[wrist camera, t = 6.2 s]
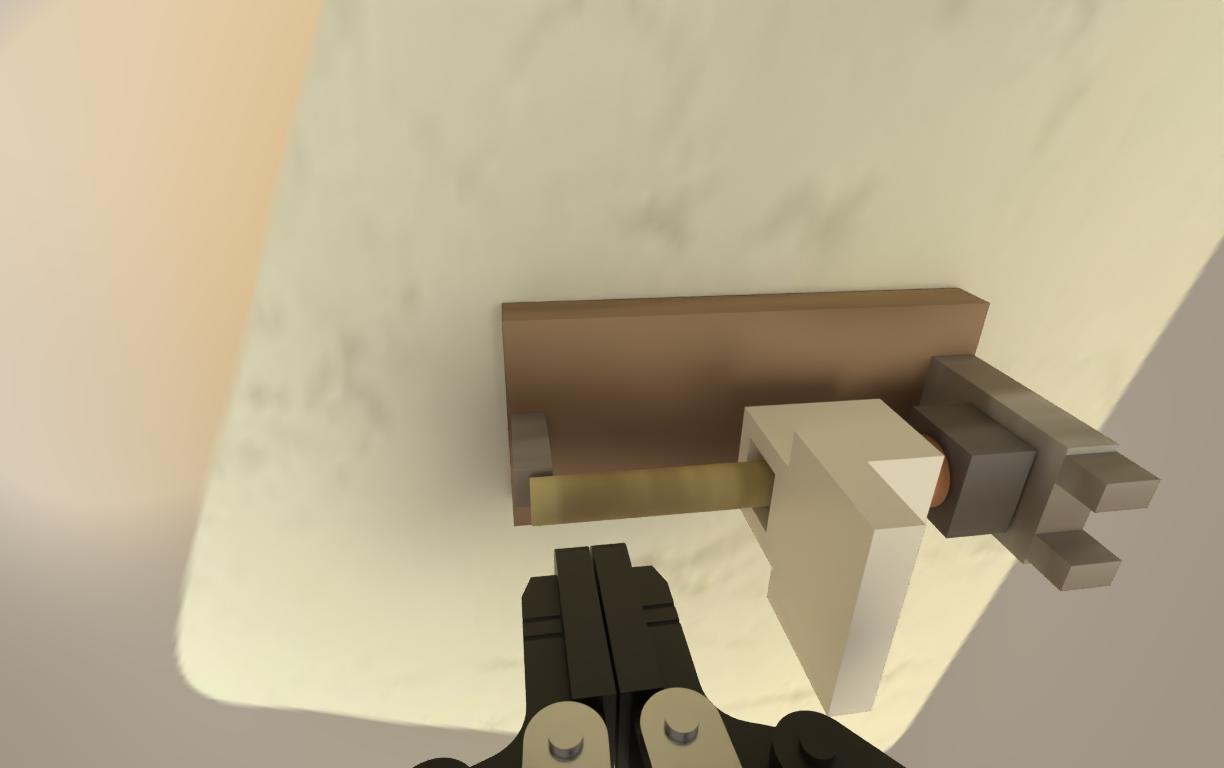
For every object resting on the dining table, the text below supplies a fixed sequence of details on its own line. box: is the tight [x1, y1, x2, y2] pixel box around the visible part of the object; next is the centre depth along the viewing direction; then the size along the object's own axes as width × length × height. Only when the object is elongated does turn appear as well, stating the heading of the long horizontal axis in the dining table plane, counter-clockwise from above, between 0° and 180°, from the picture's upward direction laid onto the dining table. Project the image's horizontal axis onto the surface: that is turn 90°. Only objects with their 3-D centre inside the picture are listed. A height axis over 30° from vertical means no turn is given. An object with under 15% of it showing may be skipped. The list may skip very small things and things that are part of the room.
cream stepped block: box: [738, 399, 945, 717], centre depth 16 cm, size 5×4×6 cm
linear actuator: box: [502, 288, 1161, 591], centre depth 18 cm, size 7×15×8 cm, turn 89°
